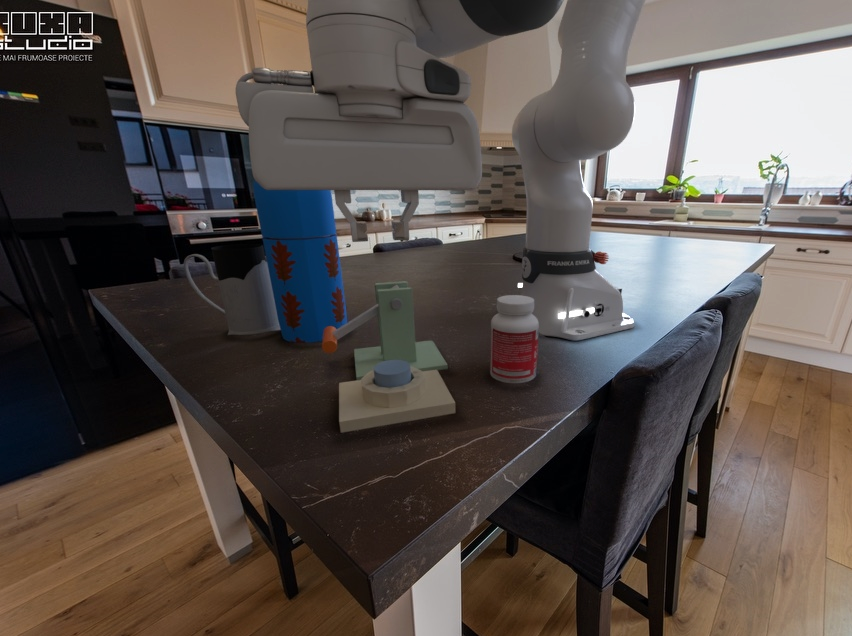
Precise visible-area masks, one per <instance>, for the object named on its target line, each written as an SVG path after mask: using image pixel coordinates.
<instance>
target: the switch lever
mask: <svg viewBox="0 0 852 636" xmlns="http://www.w3.org/2000/svg"><path fill="white" fill-rule="evenodd" d="M393 288H399V287H398V286H397V285H395V286H394V287H392V288H390V289H393ZM378 314H379V306H378V304H375V305H373V306H371V307H370V308H369V309H367V310H365V311H364V312H362V313H361V314H359V315H357V316H356V317H354V318H352V319H351V320H349V321H347V323H346V324H345V325H343V326H341V327H340V328H338V329H336V328H335V327H333V326H328V327H326V328H325V329H324V332H323V341H321V342H322V343H321V349H322V351H323V352H324V353H326V354H333V353H335V352H336V351H337V349H338V340H340V339H341V338H342V337H345V336H346V335H348V334H350V333H351V332H352V331H354V330H356V329H357V328H360V327H361V326H362V325H364V324H366V323H367V322H368V321H370V320H371V319H373V318H374V317H376V316H378Z"/></svg>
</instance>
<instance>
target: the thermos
mask: <svg viewBox="0 0 852 636" xmlns="http://www.w3.org/2000/svg"><path fill="white" fill-rule="evenodd" d="M252 184H253V197H254V202H255V208H256V213H257V217H258V222H259V227H260V233H261V238H262V243H263V249H264V254H265V259H266V262H267V264H268V269H269V275H270V280H271V285H272V290H273V295H274V301H275V306H276V311H277V316H278V321H279V325H280V329H281V330H280V333H281V337H282V339H283V340H285V341H287V342H291V343H296V344H297V343H300V344H301V343H302V344H303V343H304V344H306V343H307V344H309V343H316V342H317V343H318V342H322V341H323V332H324V329H325V328H326V327H328V326H333V327H335V328H336V329H338V328H340V327H341V326H343V325H345V324H346V323H348V317H347V316H348V315H347V308H346V298H345V290H344V282H343V274H342V273H343V272H342V266H341V257H340V251H339V244H338V243H339V242H338V235H337V227H336V220H335V211H334V205H333V204H334V203H333V196H332V190H266V189H264V188H263V187H262V186H261V185H260V184H258V183H257V182H256V180H253V181H252Z"/></svg>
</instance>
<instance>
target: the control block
mask: <svg viewBox="0 0 852 636" xmlns="http://www.w3.org/2000/svg"><path fill="white" fill-rule="evenodd" d="M410 368H411V382H410V383H408V384H405V385H403V386H399V387H392V388H387V387H379V386H377V385H376V384H375V377H374V370H373V371H370V372H368V373H367V374H366V375H365V376H364V377H363V378H362V379H361V380H357V379H356V380H350V381H349V380H348V381H343V382H339V383H338V424H339V431H340V433H341V434H342V433H348V432H353V431H359V430H365V429H370V428H377V427H382V426H388V425H394V424H395V425H396V424H400V423H406V422H411V421H418V420H423V419H429V418H435V417H441V416H447V415H452V414H456V401H455V400H454V398H453V396H452V394H451V393H450V391H449V389H448V386H447V385H446V382H445V381H444V379H443V378H442V376H441V374H440V373H439V370H430V371H423V372H422V371H421V370H419V369H417V368H414V367H412V366H410Z"/></svg>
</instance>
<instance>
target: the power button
mask: <svg viewBox="0 0 852 636" xmlns="http://www.w3.org/2000/svg"><path fill="white" fill-rule="evenodd" d="M374 377H375V384H376V385H377V386H379V387H387V388H392V387H399V386H403V385H405V384H408V383H410V382H411V368H410V364H409V363H408V362H406V361H403V360H388V361H384V362H381V363H379V364H377V365H376V366H375V367H374Z"/></svg>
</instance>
